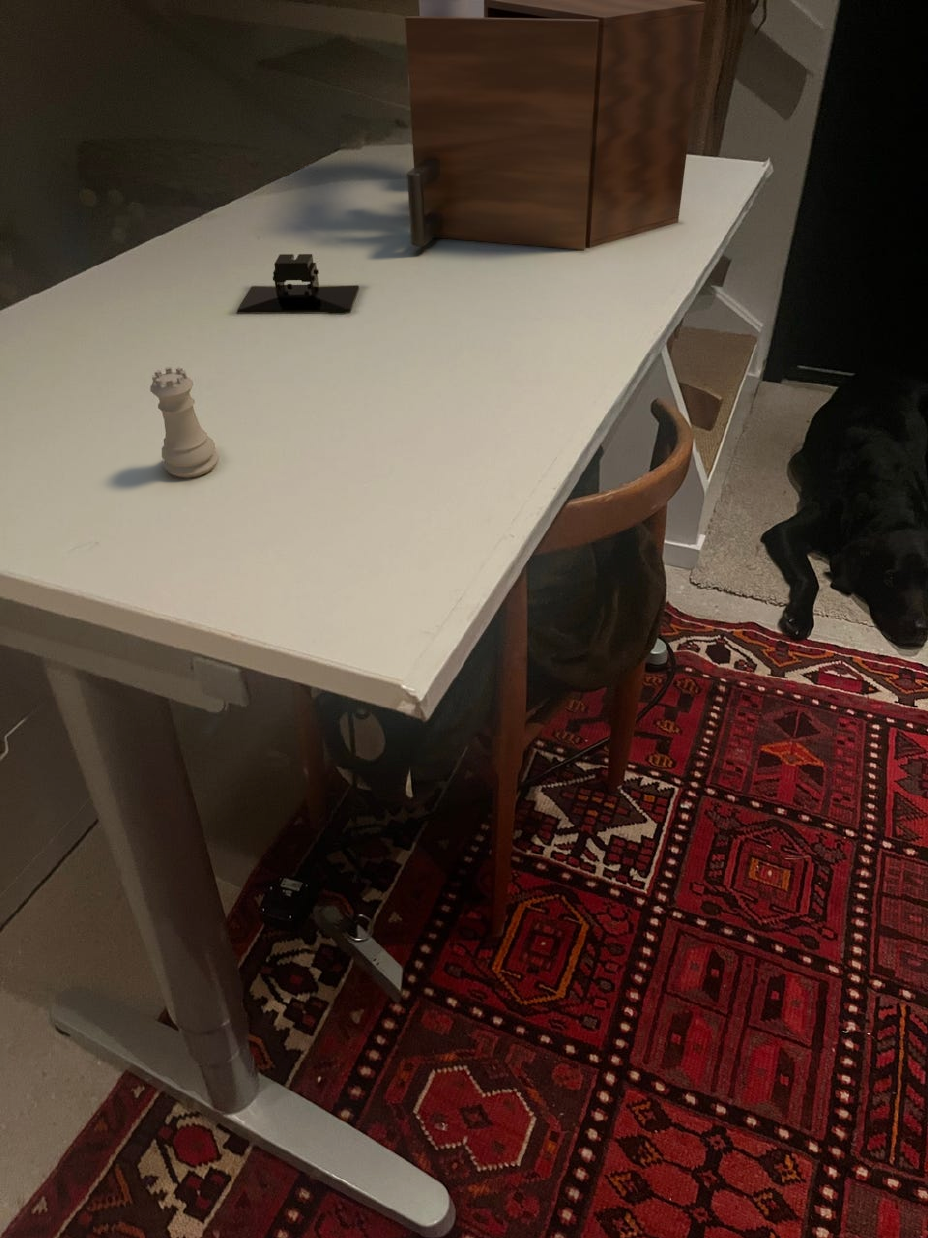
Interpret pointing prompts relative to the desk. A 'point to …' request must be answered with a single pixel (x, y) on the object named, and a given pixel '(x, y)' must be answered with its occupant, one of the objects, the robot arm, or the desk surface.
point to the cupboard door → (501, 129)
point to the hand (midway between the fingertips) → (449, 165)
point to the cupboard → (633, 105)
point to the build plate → (298, 291)
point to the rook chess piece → (182, 426)
